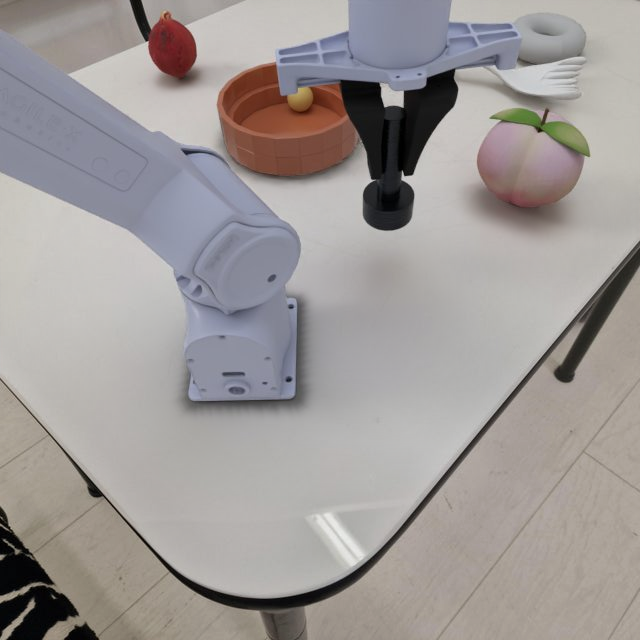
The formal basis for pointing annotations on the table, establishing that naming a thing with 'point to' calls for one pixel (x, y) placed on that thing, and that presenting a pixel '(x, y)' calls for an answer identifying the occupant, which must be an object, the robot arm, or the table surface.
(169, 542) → the table surface
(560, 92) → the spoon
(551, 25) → the donut
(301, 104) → the ball
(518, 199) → the decorative fruit
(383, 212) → the black joystick
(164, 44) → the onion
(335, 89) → the bowl
